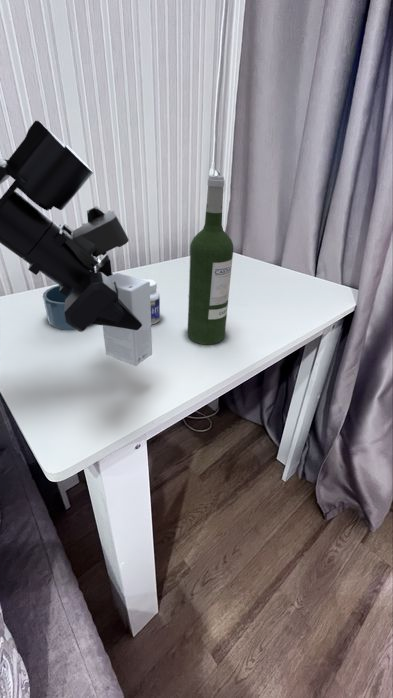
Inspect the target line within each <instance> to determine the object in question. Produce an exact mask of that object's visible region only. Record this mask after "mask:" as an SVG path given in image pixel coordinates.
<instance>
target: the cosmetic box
mask: <svg viewBox="0 0 393 698" xmlns="http://www.w3.org/2000/svg"><path fill="white" fill-rule="evenodd" d="M108 278H109V279H110V280H111V281H112V282H113V283H114V282H115V281H116V284H117V288H118V298H119V299H120V301H121V302H122V303H123V304H124V305H125V306H126V307H127V308H128V309H129V310H130V311H131V312H132V313H133V314H134V315H135V317H136V318H137V319H138V320H139V321H140V322H141V323H142V327H141V328H140V329H139V330H131V329H125V328H119V327H112V326H104V325H102V333H103V340H104V341H103V343H104V348H105V349H104V350H105V355H106V356H109V357H111V358H114V359H115V360H119V361H121V362H124V363H126V364H128V365H131V366H134V367H137V366H138V365H140V364H141V363H143V362H144V361H145V360H147V359H148V358H149V357H150V356H152V355H153V338H152V337H153V336H152V335H153V334H152V324H151V303H150V282H149V281H146V280H145V279H141V278H137V277H134V276H130V275H127V274H123V273H120V272H116V273H113V275H111V276H108Z"/></svg>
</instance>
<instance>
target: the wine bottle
mask: <svg viewBox="0 0 393 698" xmlns="http://www.w3.org/2000/svg"><path fill="white" fill-rule="evenodd" d="M225 181H226V180H225V177H224V176H223V175H209V176H208V178H207V193H206V206H205V218H204V225H203V228H202V229H201V230H200V231H199V232H198V233H197V234H196V235H194V237H193V238H192V240H191V242H190V245H189V268H188V269H189V270H188V272H189V274H188V305H187V309H188V310H187V336H188V338H189V339H190V340H191V341H192V342H195V343H196V344H199V345H207V346H208V345H216V344H218V343H221V342H222V341H223V340H224V338H225V336H226V329H227V317H228V305H229V297H230V286H231V278H232V277H231V275H232V267H233V258H234V244H233V241H232V239H231V237H230V236H229V234H227V233H226V231H224V228H223V208H224V207H223V206H224V187H225Z"/></svg>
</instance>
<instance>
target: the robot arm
mask: <svg viewBox="0 0 393 698" xmlns="http://www.w3.org/2000/svg"><path fill="white" fill-rule="evenodd" d="M93 174H94V171H93V170H92V169H91V168H90V166H89V165H88V164H87V163H86V162H85V161H84V160H83V159H82V158H81V157H80V156H79V155H78V154H77V153H76V152H75V151H74V150H73V149H72V148H71V147H70V146H69V145H68V144H65V143H64V142H63V141H61V140H60V138H58V137H57V136H56V135H55V134H54V133H53V132H52V131H51V130H50V129H49V128H47V126H45V124H44V123H43V122H42V121H41V120H34V122H33V123H32V124H31V125H30V127H29V128H28V130H27V132H26V135H25V137H24V138H23V140H22V141H21V142H20V144H19V146H17V148H16V149H15V150H14V152H13V153H12V154H11V155H10V157H9V158H8V159H5V158H3V157H2V156H0V185H1V184H3V183H5V182H6V181H7V180H8V179H9V178H10V177H11V178H12V179H13V182H12V183H11V185H10V186H9V187H8V189H7V190H6V191H5V193H3V195H2V196H1V197H0V244H1V245H2V246H4V247H5V248H6V249H8V250H9V251H10V252H12V253H14V254H15V255H16V256H18V257H19V258H21V259H22V260H23V261H25V262H26V263H28V264H29V266H28V269H27V270H28V271H29V272H31V273H32V274H34V275H35V276H37V275H38V274H39V273H42V274H43V275H44V276H45V277H47V278H49V279H50V280H51V281H53V282H54V283H56V284H57V285H60V290H59V292H61V293H62V294H64V295H65V296H67V295H68V294H69V293H70V292H71V291H72V290H73V289H74V291H73V292H72V293H71V294H70V295H69V296H68V297H67V298H66V299H65V310H64V313H65V319H66V323H67V324H69V325H70V326H72V327H73V328H75V329H74V330H76V331H78V332H80V333H83V332H84V331H85V330H86V329H87V328H88V327H90V326H89V325H91V324H93V325H95V326H103V325H104V326H112V327H119V328H125V329H131V330H139V329H140V328H141V327H142V323H141V322H140V321H139V320H138V319H137V318H136V317H135V315H134V314H133V313H132V312H131V311H130V310H129V309H128V308H127V307H126V306H125V305H124V304H123V303H122V302H121V301H120V299H119V298H118V288H117V284H116V281H115V282H114V283H113V282H112V281H111V280H110V279H109V278H108V276H111V275H113V274H114V273H113V272H112V262H111V261H112V260H111V258H110V255H109V254H107V252H110V251H111V250H113V249H115V248H121V247H123V246H125V245H126V244H127V243H128V242H129V240H130V239H129V237H128V235H127V233H126V231H125V229H124V227H123V225H122V224H121V221H120V219H119V218H118V216H117V214H116V212H115V210H110V209H109V210H107V211H106V212H105V211H104V210H103V209H102V208H100V207H99V206H97V205H95V206H93V207H91V208H89V209H87V210H86V216H87V222H83V223H82V225H81V226H79V227H78V228H76V229H72V228H71V227H70V226H69V225H67V224H66V223H64V224H63V223H60V224H59V225H58V224H57V223H56V222H55V221H53V220H52V219H51V218H50V217H49V216H47V215H46V214H45V213H44V211H46V212H47V211H50V210H52V209H53V208H55V209H57V210H59V211H63V210H64V209H65V207H66V206H67V205H68V204H69V202H70V201H71V200H72V199H74V197H75V196H76V194H77V193H78V192H79V191H80V190H81V188H82V187H84V185H85V184H86V182H87V181H88V180H89V179H90V178H91V176H93ZM17 190H19V191H20V192H22V193H23V194H24V195H25V196H26V197H27V198H28V199H29V200H30V201H29V200H28V199H27V198H26V197H25V196H23V195H22V194H21V193H19V191H17ZM31 201H32V202H33V203H34V204H36V205H37V206H38V207H40V208H41V209H43V210H44V211H41V210H40V209H39V208H38V207H37V206H35V205H34V204H33V203H32V202H31ZM99 256H103V258H102V259H100V258H98V257H99ZM91 326H92V325H91Z"/></svg>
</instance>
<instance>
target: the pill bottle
mask: <svg viewBox="0 0 393 698" xmlns="http://www.w3.org/2000/svg"><path fill="white" fill-rule="evenodd" d="M144 280H146V281H149V282H150V303H151V325H155V324H157V323H158V322H160V320H161V301H160V300H161V296H160V292H159V291H158V290H157V288H158V287H157V285H158V284H157V281H156V280H154V279H148V278H146V279H145V278H144Z"/></svg>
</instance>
